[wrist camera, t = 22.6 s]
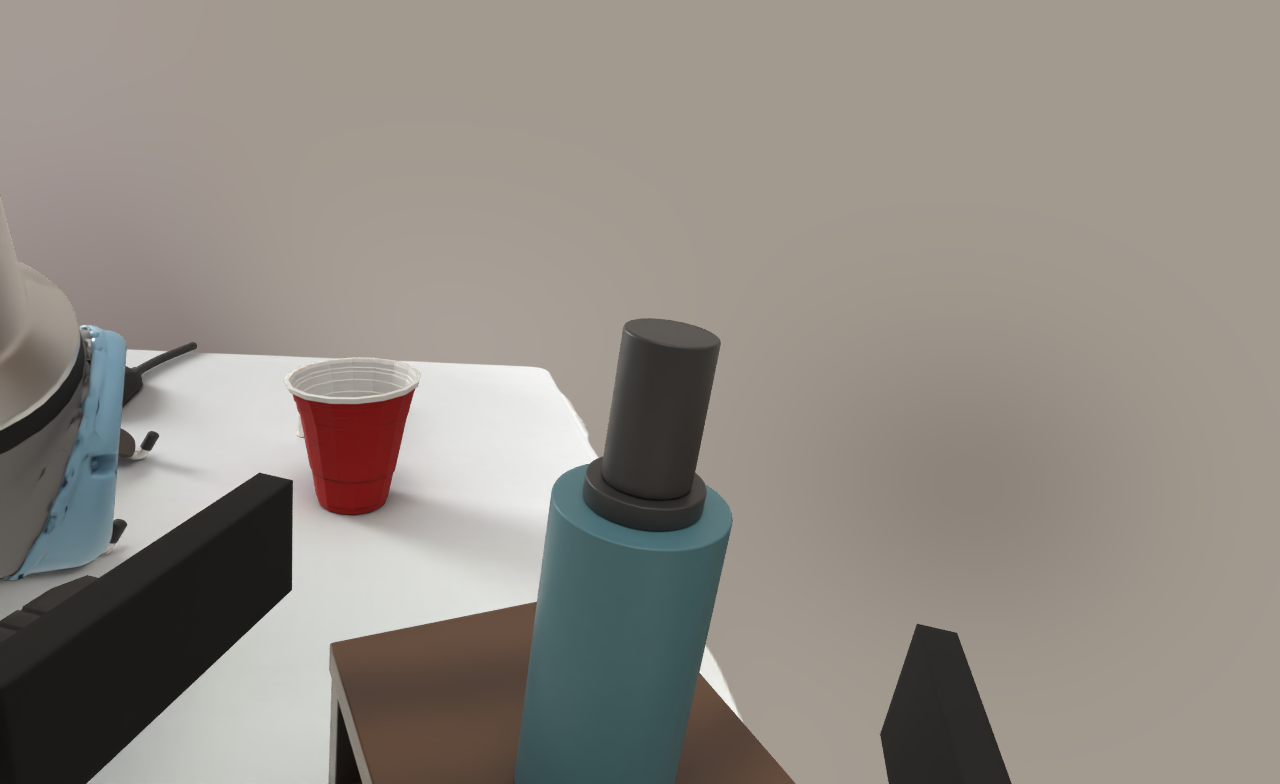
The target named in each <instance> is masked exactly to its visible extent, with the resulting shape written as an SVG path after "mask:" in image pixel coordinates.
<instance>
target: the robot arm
mask: <svg viewBox="0 0 1280 784" xmlns="http://www.w3.org/2000/svg"><path fill="white" fill-rule="evenodd" d="M196 348H197V345H196V343H194V342H191V343H189V344H186V345H184V346H181V347H179V348H176V349H173V350H171V351H168V352H166V353H163V354H161V355H159V356H157V357H155V358H153V359H151V360H149V361H147V362H145V363H143V364H141V365H139V366H138V367H136V368H134V369H133V370H135V371H137V372H139V373H140V374H142V373H144V372H146V371H147V370H149V369H151V368H153V367H155V366H157V365H159V364H161V363H163V362H165V361H167V360H169V359H172V358H174V357H177V356H179V355H182V354H184V353H186V352H189V351H191V350H194V349H196ZM126 350H127V346H126V343H125V339H124V338H123V337H122V336H121V335H119V334H117V333H116V332H113V331H107V330H101V329H99V328H98V327H96V326H93V325H92V326H88V325H83V326H80V327H79V324H78V320H77V317H76V315H75V312H74V309H73V307H72V305H71V303H70V302H69V300H68V299H67V297H66V296H65V294H64V293H63V292H62V291H61V290H60V289H59V288H58V287H57V286H56V285H55V284H54V283H53V282H51V281H50V280H49V279H47V278H46V277H45V276H44V275H42V274H41V273H39V272H37V271H36V270H34V269H32V268H31V267H29V266H27V265H25V264H23V263H21V262H19V261H17V258H16V254H15V250H14V246H13V242H12V239H11V235H10V231H9V227H8V224H7V220H6V216H5V212H4V208H3V205H2V200H1V197H0V578H2V579H4V580H17V579H20V578H23V577H25V576H26V575H28V574H31V573H38V572H45V571H52V570H59V569H66V568H73V567H78V566H82V565H84V564H87V563H89V562H91V561H93V560H94V559H96V558H97V557H98V556H100V555H101V554H102V553H103V552H104V551H105V549H106V548H107V546H108V545H109V542H110V540H111V537H112V531H113V518H114V504H115V491H116V478H117V465H118V452H119V439H120V427H121V415H122V402H123V389H124V376H125V363H126ZM292 504H293V480H289V479H284V478H280V477H276V476H271V475H267V474H263V473H258V474H257V475H255V476H254V477H252V478H251V479H249V480H248V481H246V482H245V483H243V484H242V485H240V486H238V487H237V488H235V489H234V490H232V491H231V492H229V493H228V494H226V495H225V496H223V497H222V498H220V499H219V500H217V501H216V502H214V503H213V504H211V505H210V506H208V507H206V508H205V509H203V510H202V511H200V512H199V513H197V514H196V515H194V516H193V517H191V518H190V519H188V520H187V521H185V522H184V523H182V524H181V525H179V526H178V527H176V528H175V529H173V530H171V531H170V532H168V533H167V534H165V535H164V536H162V537H161V538H159V539H158V540H156V541H155V542H153V543H152V544H150V545H149V546H147V547H146V548H144V549H143V550H141V551H139V552H138V553H136V554H135V555H133V556H132V557H130V558H129V559H127V560H126V561H124V562H123V563H121V564H120V565H118V566H117V567H115V568H114V569H112V570H111V571H109V572H107V573H106V574H104V575H103V576H101V577H100V578H96V577H92V576H88V575H87V576H84V577H81V578H79V579H76V580H73V581H71V582H68V583H65V584H62V585H60V586H57V587H54V588H52V589H50V590H48V591H47V592H45V593H44V594H42V595H41V596H39V597H37V598H36V599H34V600H33V601H31V602H29V603H28V604H26V605H25V606H23V608H22V610H21V611H18V610H17V611H15V612H13V613H12V614H10V615H9V616H7V617H5V618H4V619H2V620H1V621H0V784H86V783H87V782H88V781H90V780H91V779H92V778H93V777H94V776H95V775H96V774H97V773H98V772H99V771H100V770H101V769H102V768H103V767H104V766H105V765H107V764H108V763H109V762H110V761H111V760H112V759H113V758H114V757H115V756H116V755H117V754H118V753H119V752H120V751H121V750H122V749H123V748H125V747H126V746H127V745H128V744H129V743H130V742H131V741H132V740H133V739H134V738H135V737H136V736H137V735H138V734H139V733H140V732H142V731H143V730H144V729H145V728H146V727H147V726H148V725H149V724H150V723H151V722H152V721H153V720H154V719H155V718H156V717H157V716H159V715H160V714H161V713H162V712H163V711H164V710H165V709H166V708H167V707H168V706H169V705H170V704H171V703H172V702H173V701H174V700H176V699H177V698H178V697H179V696H180V695H181V694H182V693H183V692H184V691H185V690H186V689H187V688H188V687H189V686H190V685H191V684H192V683H194V682H195V681H196V680H197V679H198V678H199V677H200V676H201V675H202V674H203V673H204V672H205V671H206V670H207V669H208V668H209V667H211V666H212V665H213V664H214V663H215V662H216V661H217V660H218V659H219V658H220V657H221V656H222V655H223V654H224V653H225V652H226V651H228V650H229V649H230V648H231V647H232V646H233V645H234V644H235V643H236V642H237V641H238V640H239V639H240V638H241V637H242V636H243V635H244V634H246V633H247V632H248V631H249V630H250V629H251V628H252V627H253V626H254V625H255V624H256V623H257V622H258V621H259V620H260V619H261V618H263V617H264V616H265V615H266V614H267V613H268V612H269V611H270V610H271V609H272V608H273V607H274V606H275V605H276V604H277V603H278V602H280V601H281V600H282V599H283V598H284V597H285V596H286V595H287V594H288V593H289V592H290V591H291V590H292ZM880 735H881V741H882V747H883V753H884V758H885V764H886V770H887V775H888V781H889V784H1011V781H1010V778H1009V776H1008V773H1007V770H1006V767H1005V764H1004V762H1003V759H1002V756H1001V753H1000V751H999V748H998V745H997V742H996V740H995V737H994V734H993V731H992V728H991V726H990V723H989V720H988V718H987V715H986V712H985V710H984V706H983V704H982V701H981V698H980V695H979V693H978V690H977V687H976V684H975V682H974V679H973V676H972V674H971V670H970V668H969V665H968V662H967V659H966V657H965V654H964V651H963V648H962V646H961V643H960V640H959V637H958V635H957V633H955V632H951V631H946V630H942V629H937V628H933V627H929V626H924V625H920V624H917V625H916V629H915V631H914V635H913V638H912V641H911V644H910V647H909V650H908V653H907V656H906V659H905V662H904V665H903V668H902V671H901V674H900V677H899V680H898V683H897V686H896V689H895V692H894V695H893V698H892V701H891V704H890V707H889V710H888V713H887V716H886V719H885V722H884V725H883V728H882V731H881V734H880Z"/></svg>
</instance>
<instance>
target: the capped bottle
mask: <svg viewBox="0 0 1280 784" xmlns="http://www.w3.org/2000/svg"><path fill="white" fill-rule="evenodd" d="M720 345H721V343H720V339H719V338H718V337H717V336H716V335H714V334H713V333H711V332H709V331H707V330H705V329H703V328H700V327H697V326H694V325H690V324H686V323H682V322H677V321H671V320H663V319H637V320H631V321H628V322H627V323H625V325H624V327H623V333H622V339H621V347H620V352H619V359H618V365H617V372H616V378H615V386H614V391H613V398H612V404H611V411H610V417H609V424H608V430H607V437H606V444H605V450H604V456H603V457H600V458H598V459H596V460H594V461H593V462H591V463H590V464H586V465H582V466H579V467H576V468H574V469H571V470H569V471H567V472H566V473H564V474H563V475H562V476H561V477H559V478H558V479H557V481H556V482H555V484H554V486H553V488H552V493H551V500H550V508H549V515H548V523H547V530H546V538H545V546H544V553H543V561H542V568H541V576H540V584H539V591H538V599H537V606H536V614H535V622H534V629H533V637H532V644H531V652H530V659H529V667H528V675H527V682H526V690H525V697H524V705H523V713H522V720H521V728H520V735H519V743H518V751H517V758H516V766H515V775H514V782H515V784H675V779H676V775H677V770H678V766H679V761H680V757H681V752H682V748H683V743H684V739H685V734H686V730H687V725H688V721H689V716H690V712H691V707H692V702H693V698H694V693H695V689H696V684H697V680H698V675H699V671H700V666H701V662H702V657H703V653H704V648H705V644H706V639H707V635H708V630H709V626H710V621H711V617H712V612H713V608H714V603H715V598H716V594H717V590H718V585H719V581H720V576H721V572H722V567H723V563H724V558H725V554H726V549H727V545H728V540H729V536H730V531H731V527H732V521H733V520H732V513H731V511H730V508H729V506H728V505H727V503H726V502H725V500H724V499H723V498H722V497H721V496H720V495H719V494H718V493H717V492H715V491H714V490H713V489H712V488H710V487H708V486H707V485H705V483H704V481H703V480H702V479H701V478H700V476H698V475H697V474H696V473H695V470H696V465H697V460H698V455H699V450H700V445H701V440H702V435H703V430H704V425H705V420H706V415H707V410H708V404H709V400H710V395H711V390H712V385H713V380H714V374H715V369H716V365H717V359H718V355H719V350H720Z"/></svg>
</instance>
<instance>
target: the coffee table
mask: <svg viewBox="0 0 1280 784" xmlns="http://www.w3.org/2000/svg"><path fill="white" fill-rule="evenodd" d="M536 606H537V602H534V603H529V604H524V605H519V606H514V607H509V608H504V609H499V610H494V611H489V612H484V613H479V614H474V615H469V616H464V617H459V618H454V619H449V620H444V621H439V622H434V623H429V624H424V625H419V626H414V627H409V628H404V629H399V630H394V631H389V632H384V633H379V634H374V635H369V636H364V637H359V638H354V639H350V640H345V641H340V642H335V643H331V644H330V665H329V670H330V674H331V677H332V689H331V724H330V758H329V784H515V782H514V775H515V766H516V758H517V751H518V743H519V735H520V728H521V720H522V713H523V705H524V697H525V690H526V682H527V675H528V667H529V659H530V652H531V644H532V637H533V629H534V622H535V614H536ZM675 784H795V783H794V782H793V780H792V779H791V778H790V777H789V776H788V775H787V773H786V772H785V771H784V770H783V769H782V768H781V766H780V765H779V764H778V763H777V762H776V761H775V759H774V758H773V757H772V756H771V755H770V754H769V753H768V751H767V750H766V749H765V748H764V747H763V746H762V745H761V743H760V742H759V741H758V740H757V739H756V738H755V736H754V735H753V734H752V733H751V732H750V731H749V729H748V728H747V727H746V726H745V725H744V724H743V723H742V721H741V720H740V719H739V718H738V717H737V716H736V714H735V713H734V712H733V711H732V710H731V709H730V708H729V706H728V705H727V704H726V703H725V702H724V701H723V699H722V698H721V697H720V696H719V695H718V694H717V693H716V691H715V690H714V689H713V688H712V687H711V686H710V684H709V683H708V682H707V681H706V680H705V679H704V678H703V676H702V675H701V674H700V673H699V675H698V680H697V684H696V689H695V693H694V698H693V702H692V707H691V712H690V716H689V721H688V725H687V730H686V734H685V739H684V743H683V748H682V752H681V757H680V761H679V766H678V770H677V775H676V779H675Z"/></svg>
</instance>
